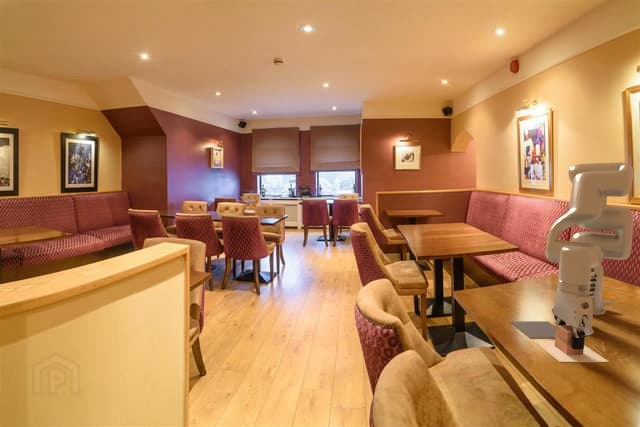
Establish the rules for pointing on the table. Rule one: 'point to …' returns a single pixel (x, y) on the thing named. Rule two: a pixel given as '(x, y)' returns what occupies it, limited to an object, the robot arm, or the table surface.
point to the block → (566, 339)
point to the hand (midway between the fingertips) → (569, 342)
